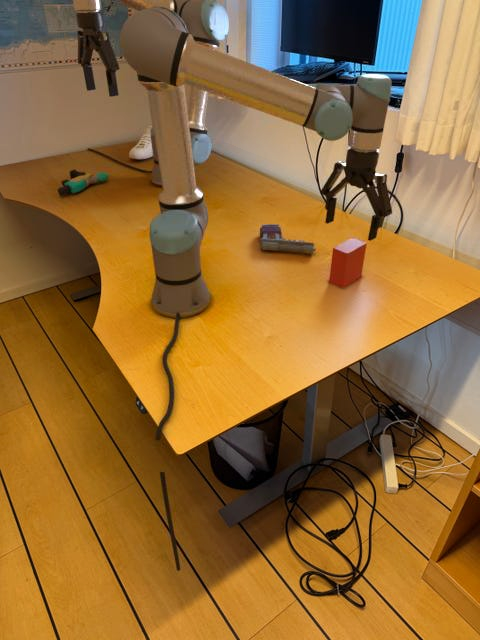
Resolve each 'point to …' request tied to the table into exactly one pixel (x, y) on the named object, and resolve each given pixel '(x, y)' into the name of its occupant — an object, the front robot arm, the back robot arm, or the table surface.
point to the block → (347, 262)
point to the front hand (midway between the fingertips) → (350, 230)
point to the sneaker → (142, 147)
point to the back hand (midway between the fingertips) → (102, 93)
